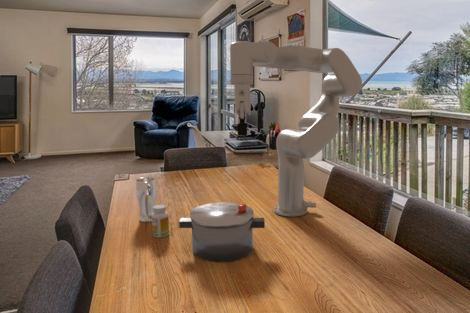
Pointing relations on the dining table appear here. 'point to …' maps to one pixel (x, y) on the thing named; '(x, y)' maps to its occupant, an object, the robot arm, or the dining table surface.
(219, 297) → the dining table surface
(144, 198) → the beer glass
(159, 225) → the supplement bottle
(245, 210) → the cooker lid
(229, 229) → the cooking pot
